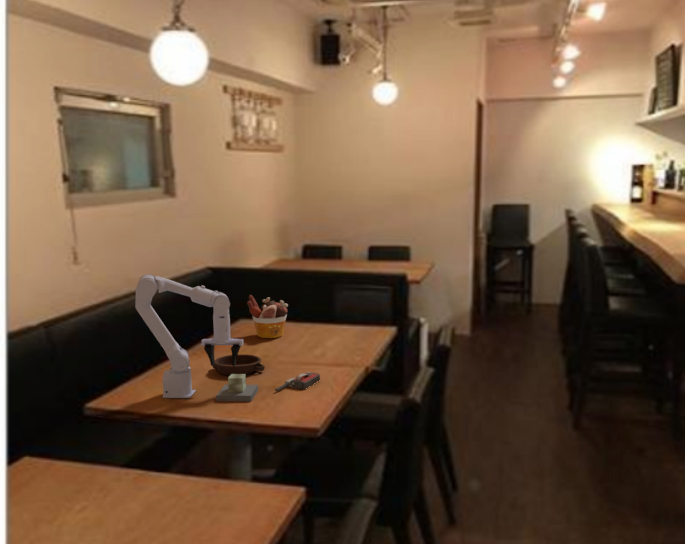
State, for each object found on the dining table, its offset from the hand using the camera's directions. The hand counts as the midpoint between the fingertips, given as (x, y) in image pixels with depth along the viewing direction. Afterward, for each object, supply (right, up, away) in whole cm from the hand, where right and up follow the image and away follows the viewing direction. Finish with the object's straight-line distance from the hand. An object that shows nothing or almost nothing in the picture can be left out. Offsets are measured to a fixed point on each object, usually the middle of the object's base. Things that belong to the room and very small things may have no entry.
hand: (223, 365), depth 236 cm
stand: (+6, -10, -4) cm, 12 cm away
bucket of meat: (+7, +2, +82) cm, 83 cm away
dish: (+1, -6, +25) cm, 26 cm away
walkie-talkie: (+26, -9, +5) cm, 28 cm away
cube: (+6, -8, -5) cm, 11 cm away
